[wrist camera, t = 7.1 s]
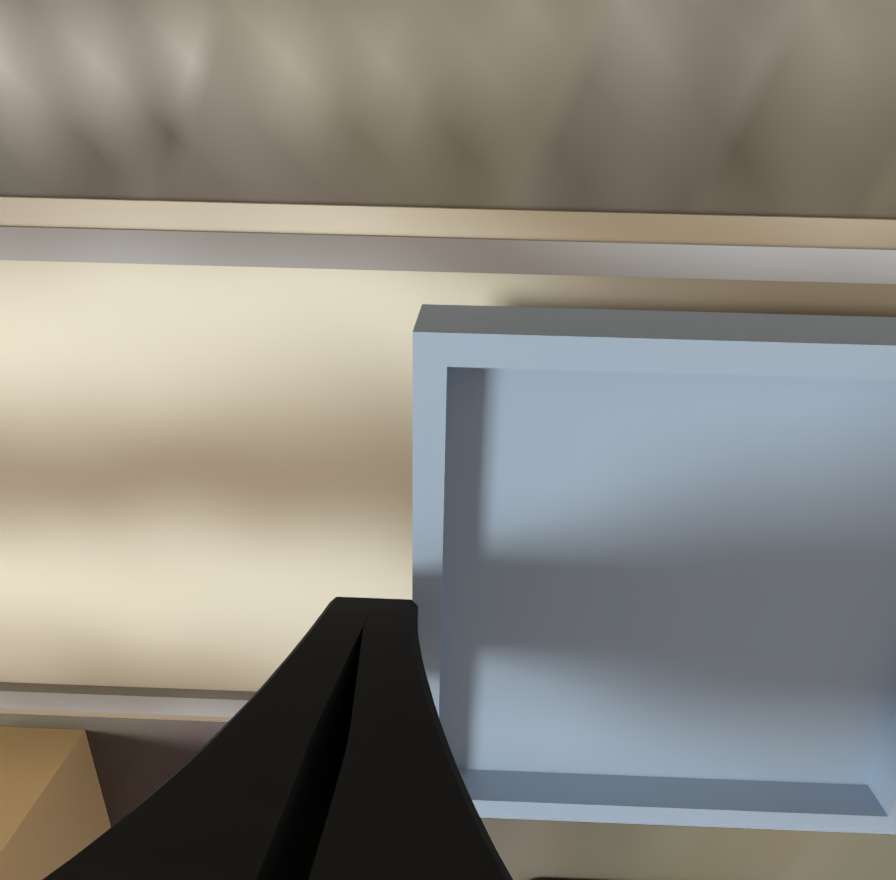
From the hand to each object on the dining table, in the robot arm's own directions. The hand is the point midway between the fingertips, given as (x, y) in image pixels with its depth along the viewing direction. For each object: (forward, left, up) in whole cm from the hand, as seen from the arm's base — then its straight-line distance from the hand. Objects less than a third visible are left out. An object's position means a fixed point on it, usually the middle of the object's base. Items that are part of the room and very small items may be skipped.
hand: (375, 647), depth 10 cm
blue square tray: (0, -6, -4) cm, 7 cm away
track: (0, -1, -5) cm, 5 cm away
